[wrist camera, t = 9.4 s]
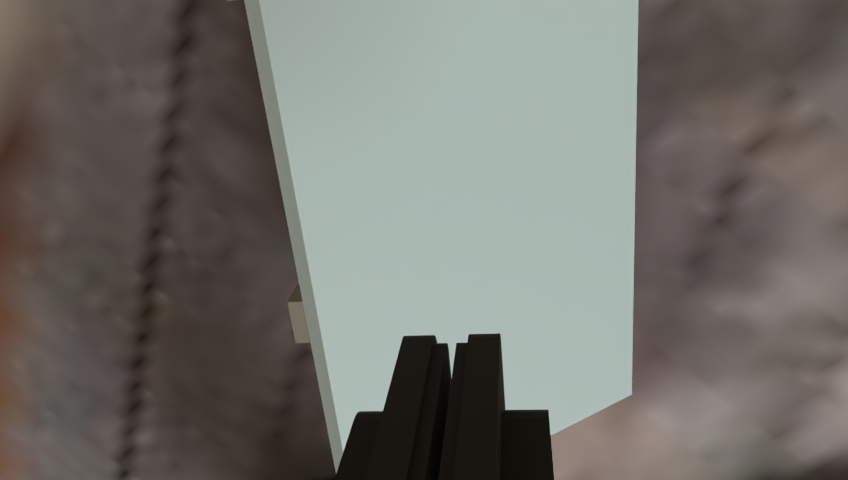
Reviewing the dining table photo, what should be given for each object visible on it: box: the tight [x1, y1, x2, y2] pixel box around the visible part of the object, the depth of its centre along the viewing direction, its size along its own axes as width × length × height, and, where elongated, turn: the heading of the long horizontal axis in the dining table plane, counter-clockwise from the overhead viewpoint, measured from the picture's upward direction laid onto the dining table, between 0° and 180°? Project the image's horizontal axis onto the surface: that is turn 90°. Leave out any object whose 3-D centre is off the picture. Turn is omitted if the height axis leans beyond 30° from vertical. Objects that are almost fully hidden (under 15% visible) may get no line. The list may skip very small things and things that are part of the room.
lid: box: [244, 0, 638, 473], centre depth 22 cm, size 20×12×1 cm
